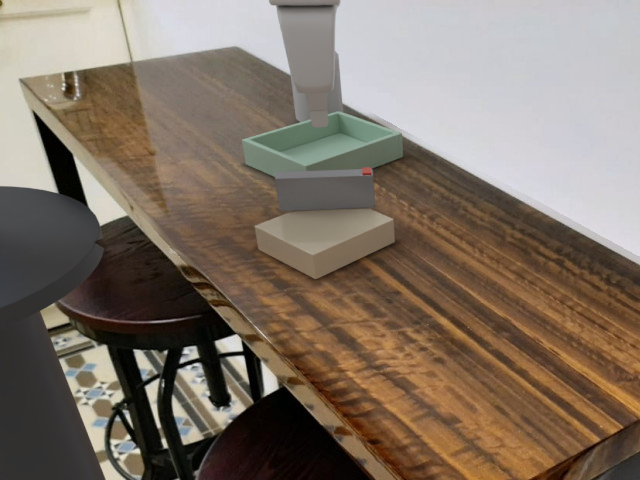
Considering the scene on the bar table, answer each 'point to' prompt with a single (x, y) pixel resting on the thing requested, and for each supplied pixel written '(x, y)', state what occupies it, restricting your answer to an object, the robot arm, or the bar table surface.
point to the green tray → (323, 146)
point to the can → (332, 97)
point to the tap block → (324, 238)
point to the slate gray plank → (325, 189)
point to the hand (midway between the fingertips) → (319, 110)
